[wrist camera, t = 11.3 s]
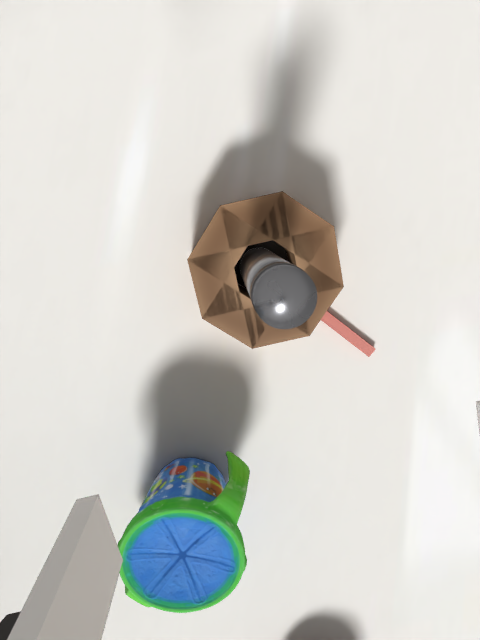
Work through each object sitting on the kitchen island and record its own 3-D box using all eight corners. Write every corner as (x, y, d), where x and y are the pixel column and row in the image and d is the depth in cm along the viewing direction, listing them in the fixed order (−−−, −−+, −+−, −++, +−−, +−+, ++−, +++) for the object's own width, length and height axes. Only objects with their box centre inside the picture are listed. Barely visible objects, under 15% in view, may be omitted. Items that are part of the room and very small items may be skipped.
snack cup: (173, 560, 47) (160, 652, 37) (101, 501, 45) (67, 582, 35) (278, 471, 45) (295, 544, 35) (208, 405, 42) (205, 463, 33)
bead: (213, 340, 41) (211, 357, 36) (182, 215, 38) (176, 215, 33) (334, 313, 41) (350, 326, 36) (313, 185, 38) (326, 181, 33)
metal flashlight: (243, 290, 40) (259, 336, 24) (235, 251, 39) (246, 273, 23) (281, 282, 40) (323, 322, 24) (274, 242, 39) (312, 258, 23)
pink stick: (272, 282, 40) (273, 283, 39) (279, 273, 40) (280, 274, 39) (367, 355, 42) (368, 356, 41) (373, 347, 42) (375, 349, 41)
